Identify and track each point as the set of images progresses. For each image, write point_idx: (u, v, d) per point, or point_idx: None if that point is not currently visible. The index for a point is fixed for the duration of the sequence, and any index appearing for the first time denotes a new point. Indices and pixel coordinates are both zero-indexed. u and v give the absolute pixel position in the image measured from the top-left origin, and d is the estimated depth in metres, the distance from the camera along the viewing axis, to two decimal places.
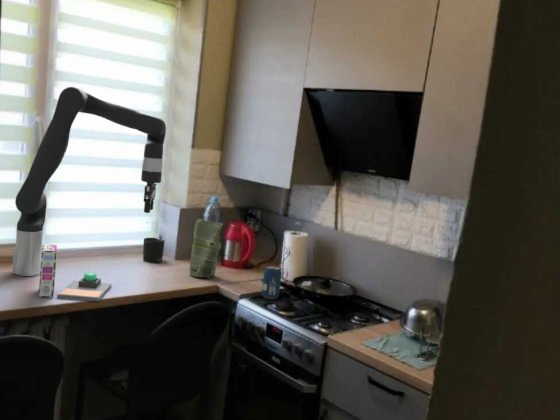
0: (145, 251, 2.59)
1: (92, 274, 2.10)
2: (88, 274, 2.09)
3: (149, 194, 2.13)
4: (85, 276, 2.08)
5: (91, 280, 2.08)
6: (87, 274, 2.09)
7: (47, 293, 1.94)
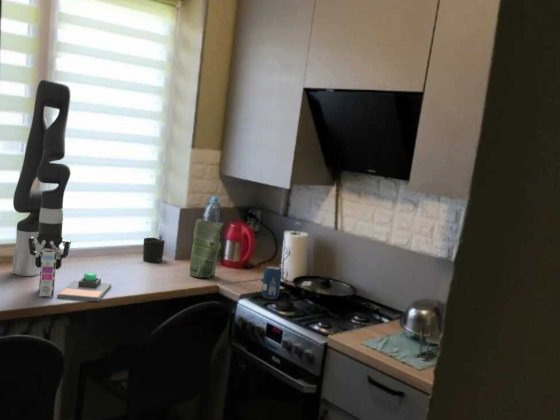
0: (145, 251, 2.59)
1: (92, 274, 2.10)
2: (88, 274, 2.09)
3: (68, 249, 1.98)
4: (85, 276, 2.08)
5: (91, 280, 2.08)
6: (87, 274, 2.09)
7: (47, 293, 1.94)
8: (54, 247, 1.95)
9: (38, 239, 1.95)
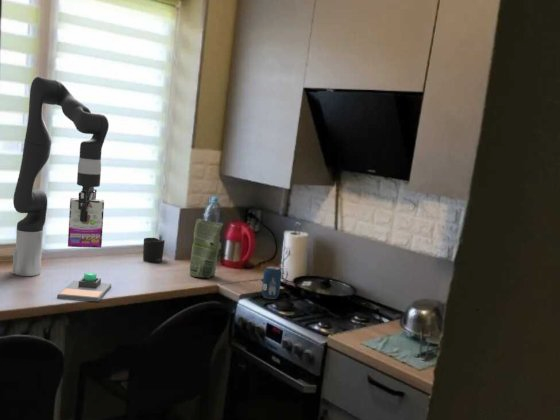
0: (145, 251, 2.59)
1: (92, 274, 2.10)
2: (88, 274, 2.09)
3: None
4: (85, 276, 2.08)
5: (91, 280, 2.08)
6: (87, 274, 2.09)
7: None
8: (94, 197, 1.98)
9: (88, 192, 1.92)
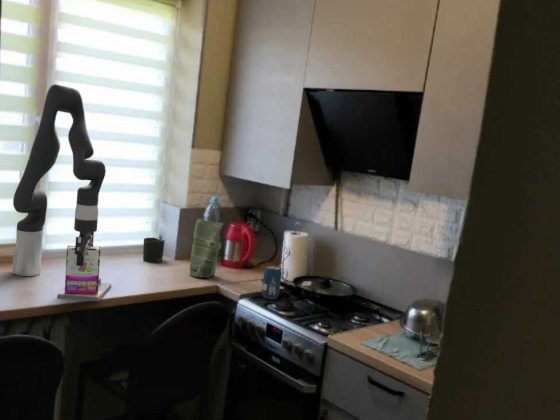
0: (145, 251, 2.59)
1: None
2: None
3: None
4: None
5: None
6: None
7: None
8: (91, 241, 2.00)
9: (85, 238, 1.93)
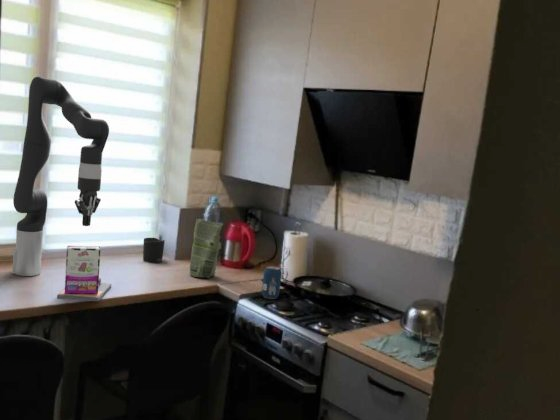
0: (145, 251, 2.59)
1: None
2: None
3: None
4: None
5: None
6: None
7: None
8: (94, 203, 1.98)
9: (85, 197, 1.94)
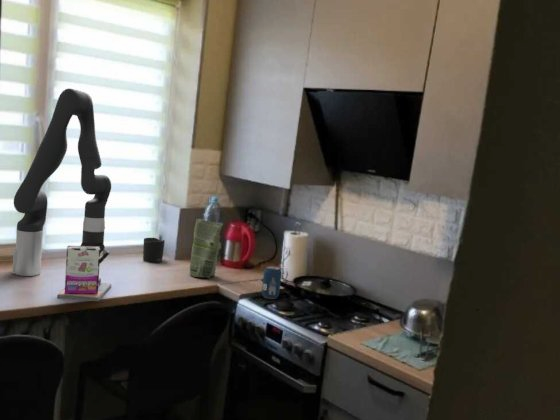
0: (145, 251, 2.59)
1: None
2: None
3: None
4: None
5: None
6: None
7: None
8: None
9: None
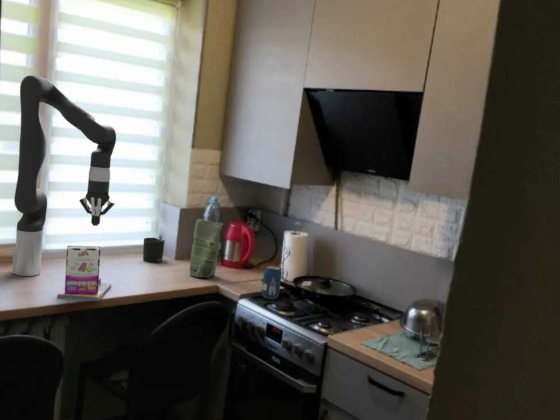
0: (145, 251, 2.59)
1: None
2: None
3: (109, 209, 2.11)
4: None
5: None
6: None
7: None
8: (99, 204, 2.09)
9: (87, 197, 2.09)
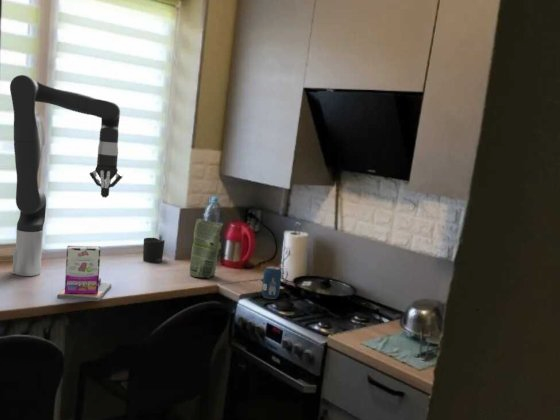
0: (145, 251, 2.59)
1: None
2: None
3: (117, 182, 2.25)
4: None
5: None
6: None
7: None
8: (108, 177, 2.22)
9: (97, 170, 2.22)
